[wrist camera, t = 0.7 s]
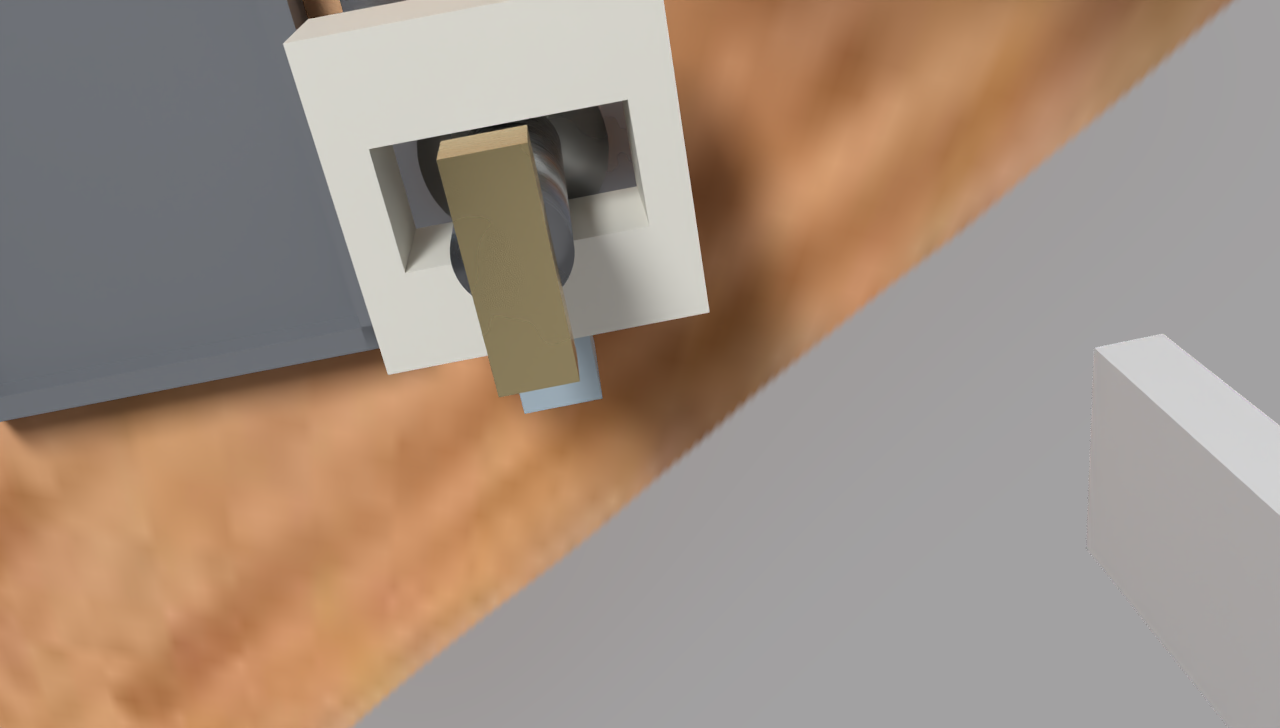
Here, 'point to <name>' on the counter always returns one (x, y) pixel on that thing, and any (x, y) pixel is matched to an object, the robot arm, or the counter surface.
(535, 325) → the metal post stand
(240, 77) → the tray
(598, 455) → the counter surface
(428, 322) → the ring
